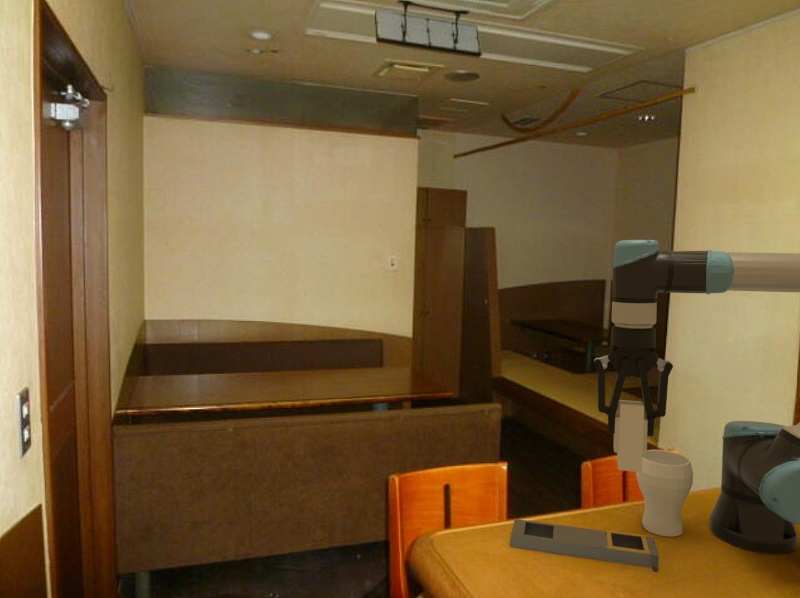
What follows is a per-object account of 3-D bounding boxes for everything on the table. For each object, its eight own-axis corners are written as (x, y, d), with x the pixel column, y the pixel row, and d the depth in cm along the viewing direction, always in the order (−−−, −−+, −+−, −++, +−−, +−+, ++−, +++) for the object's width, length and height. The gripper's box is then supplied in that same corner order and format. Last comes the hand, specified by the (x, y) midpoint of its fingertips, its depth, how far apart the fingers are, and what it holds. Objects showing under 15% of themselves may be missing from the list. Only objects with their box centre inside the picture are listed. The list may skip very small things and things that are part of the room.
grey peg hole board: (653, 552, 110) (653, 536, 110) (658, 571, 103) (658, 554, 103) (514, 533, 118) (514, 517, 117) (510, 549, 111) (511, 533, 111)
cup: (697, 543, 114) (700, 468, 113) (640, 537, 116) (642, 464, 115) (682, 519, 124) (685, 450, 123) (630, 514, 126) (632, 447, 125)
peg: (639, 464, 108) (641, 401, 107) (642, 472, 104) (644, 406, 104) (616, 462, 109) (618, 399, 109) (618, 469, 106) (620, 405, 105)
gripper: (681, 324, 106) (677, 449, 108) (583, 321, 111) (581, 441, 113) (689, 329, 99) (684, 463, 101) (584, 326, 104) (581, 453, 106)
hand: (629, 451), depth 107 cm, fingers closed on peg, 4 cm apart
